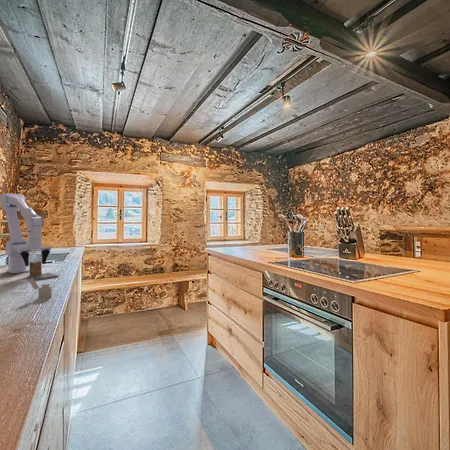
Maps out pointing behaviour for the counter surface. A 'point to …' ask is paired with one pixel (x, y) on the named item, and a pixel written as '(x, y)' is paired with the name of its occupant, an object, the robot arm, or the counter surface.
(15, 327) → the counter surface
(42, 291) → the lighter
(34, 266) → the walnut block
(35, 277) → the slate tile
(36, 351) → the counter surface
